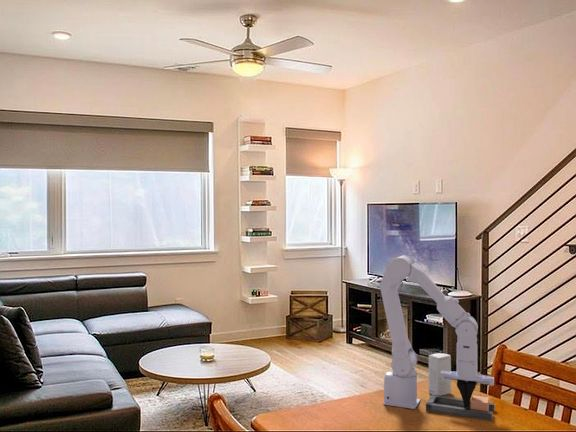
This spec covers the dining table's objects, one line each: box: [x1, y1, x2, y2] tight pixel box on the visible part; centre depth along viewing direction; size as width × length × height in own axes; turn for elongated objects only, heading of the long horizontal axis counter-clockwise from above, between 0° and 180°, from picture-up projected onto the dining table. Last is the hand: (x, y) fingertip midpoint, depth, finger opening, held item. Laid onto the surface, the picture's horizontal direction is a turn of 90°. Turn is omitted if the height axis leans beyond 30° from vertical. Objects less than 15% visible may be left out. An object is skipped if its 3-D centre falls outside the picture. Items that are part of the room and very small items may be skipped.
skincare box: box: [428, 352, 452, 396], centre depth 173 cm, size 6×4×12 cm
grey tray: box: [425, 394, 496, 422], centre depth 158 cm, size 18×9×2 cm, turn 65°
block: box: [471, 394, 490, 411], centre depth 155 cm, size 4×5×4 cm
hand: (466, 406), depth 157 cm, fingers closed
